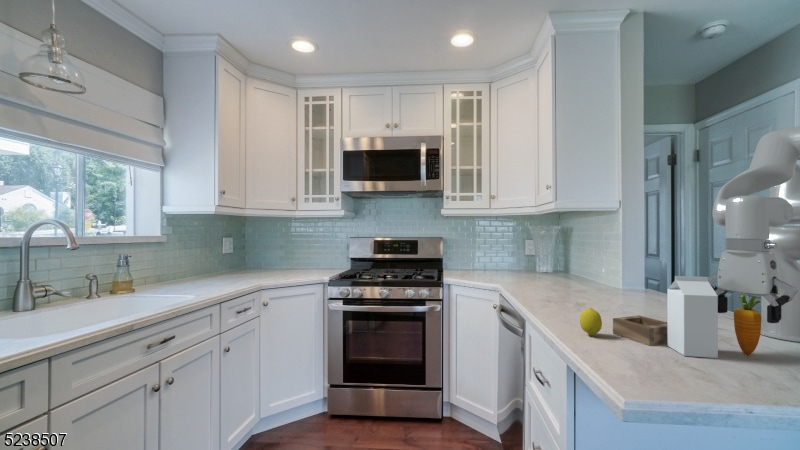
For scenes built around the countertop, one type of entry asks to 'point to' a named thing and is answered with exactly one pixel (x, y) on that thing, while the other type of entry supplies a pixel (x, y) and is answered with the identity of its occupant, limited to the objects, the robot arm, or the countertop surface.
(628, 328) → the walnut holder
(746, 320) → the carrot
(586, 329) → the lemon
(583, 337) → the countertop surface
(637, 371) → the countertop surface
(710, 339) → the milk carton
